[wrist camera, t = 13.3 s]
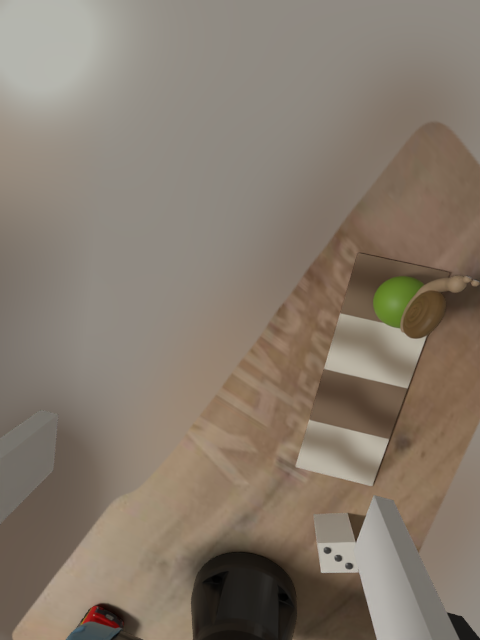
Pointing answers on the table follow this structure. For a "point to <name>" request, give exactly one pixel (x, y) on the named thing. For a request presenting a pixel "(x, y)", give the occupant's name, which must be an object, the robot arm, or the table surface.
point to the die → (335, 543)
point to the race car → (102, 618)
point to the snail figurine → (415, 302)
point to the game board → (362, 378)
